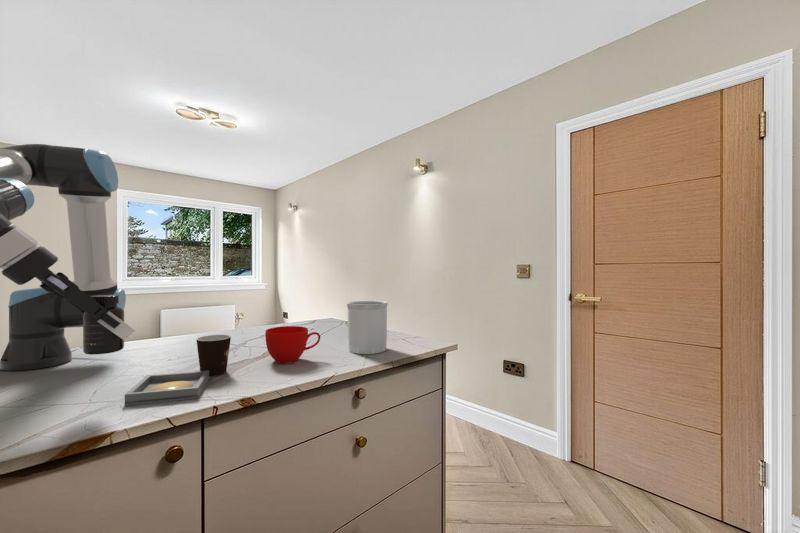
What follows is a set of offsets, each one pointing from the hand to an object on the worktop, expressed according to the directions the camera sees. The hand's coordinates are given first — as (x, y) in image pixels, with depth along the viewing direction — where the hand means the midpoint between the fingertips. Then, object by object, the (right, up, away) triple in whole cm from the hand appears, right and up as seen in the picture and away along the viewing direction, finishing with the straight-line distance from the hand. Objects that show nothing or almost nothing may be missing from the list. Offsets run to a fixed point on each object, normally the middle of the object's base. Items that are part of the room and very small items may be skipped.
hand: (124, 332), depth 79 cm
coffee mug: (+9, -15, +22) cm, 28 cm away
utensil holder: (+49, -16, +50) cm, 72 cm away
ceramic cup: (+27, -16, +35) cm, 47 cm away
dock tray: (+6, -15, +6) cm, 18 cm away
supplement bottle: (-2, -4, -3) cm, 5 cm away
